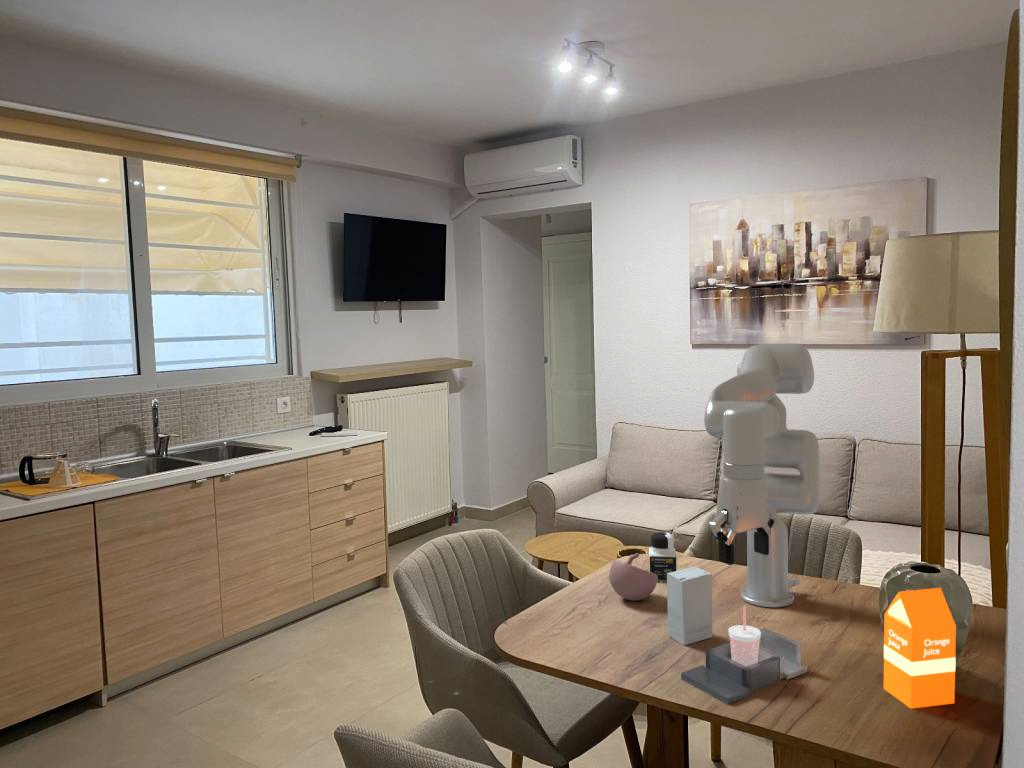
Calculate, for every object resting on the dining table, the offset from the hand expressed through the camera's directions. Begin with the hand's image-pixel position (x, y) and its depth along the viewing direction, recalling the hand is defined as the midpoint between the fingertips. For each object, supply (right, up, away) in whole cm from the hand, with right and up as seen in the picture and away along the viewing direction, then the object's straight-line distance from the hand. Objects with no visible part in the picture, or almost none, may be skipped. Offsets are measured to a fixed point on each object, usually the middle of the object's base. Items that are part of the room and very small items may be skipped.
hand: (744, 558), depth 146 cm
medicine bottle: (-4, -19, +60) cm, 63 cm away
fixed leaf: (-3, -24, 0) cm, 24 cm away
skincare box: (-6, -22, +20) cm, 31 cm away
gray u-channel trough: (+7, -23, +6) cm, 25 cm away
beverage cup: (+1, -24, +2) cm, 24 cm away
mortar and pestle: (-14, -21, +44) cm, 51 cm away
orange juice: (+30, -24, -8) cm, 39 cm away
